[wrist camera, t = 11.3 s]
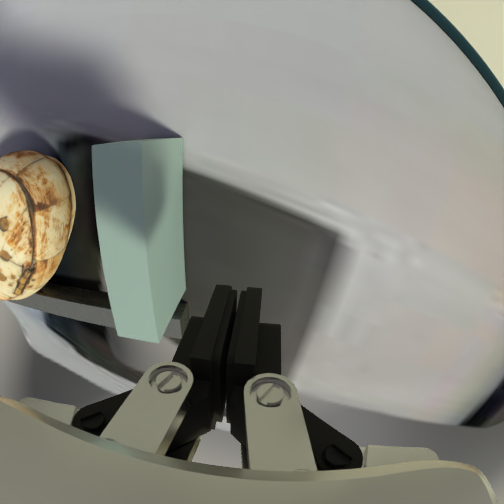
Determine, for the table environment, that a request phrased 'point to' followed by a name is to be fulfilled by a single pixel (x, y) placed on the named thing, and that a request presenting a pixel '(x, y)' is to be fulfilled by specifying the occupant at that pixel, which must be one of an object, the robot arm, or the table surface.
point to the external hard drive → (474, 33)
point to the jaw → (141, 232)
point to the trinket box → (32, 221)
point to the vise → (91, 307)
